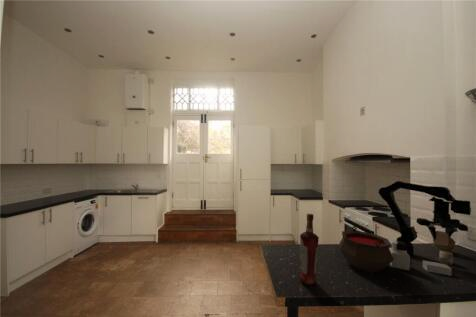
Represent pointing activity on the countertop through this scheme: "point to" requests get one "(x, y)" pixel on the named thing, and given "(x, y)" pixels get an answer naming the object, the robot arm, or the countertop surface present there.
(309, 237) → the liquor
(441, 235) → the terracotta tall brick
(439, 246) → the natural sponge
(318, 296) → the countertop surface
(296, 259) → the countertop surface
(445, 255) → the round birch brick
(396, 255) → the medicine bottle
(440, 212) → the robot arm
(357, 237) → the brown pot
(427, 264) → the long grey brick
